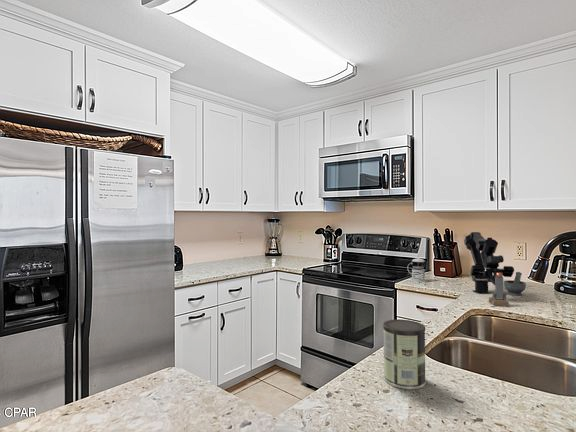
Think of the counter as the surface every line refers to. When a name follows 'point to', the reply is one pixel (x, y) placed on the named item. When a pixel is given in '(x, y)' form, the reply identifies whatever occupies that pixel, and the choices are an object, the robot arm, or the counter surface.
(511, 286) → the mortar and pestle
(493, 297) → the stand
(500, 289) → the nutcracker lever
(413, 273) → the french press
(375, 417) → the counter surface
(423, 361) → the coffee can
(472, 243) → the robot arm
